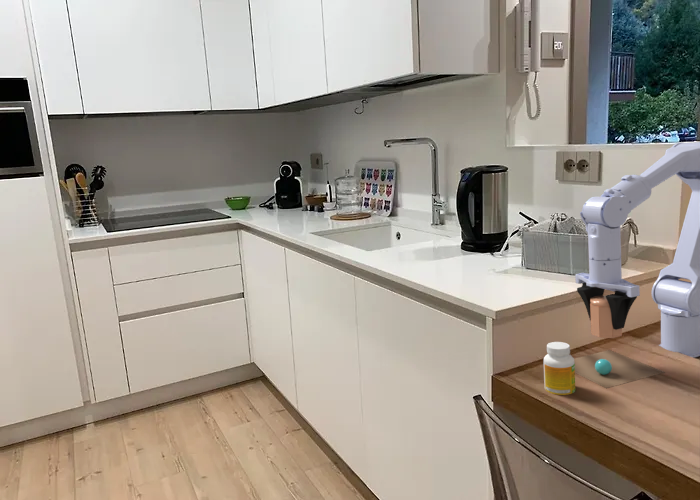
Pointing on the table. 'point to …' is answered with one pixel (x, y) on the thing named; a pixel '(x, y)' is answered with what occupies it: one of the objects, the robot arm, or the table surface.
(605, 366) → the teal ball
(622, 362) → the walnut board
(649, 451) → the table surface
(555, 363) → the supplement bottle
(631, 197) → the robot arm
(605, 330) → the faceted octagonal canister
